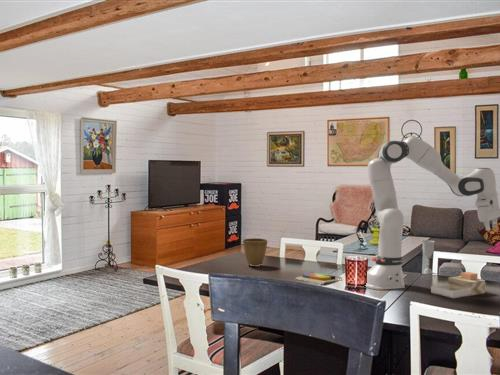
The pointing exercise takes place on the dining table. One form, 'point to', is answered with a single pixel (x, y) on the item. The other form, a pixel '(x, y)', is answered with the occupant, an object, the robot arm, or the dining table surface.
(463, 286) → the bench plate
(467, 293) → the box
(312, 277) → the wooden puzzle
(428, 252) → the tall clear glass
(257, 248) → the plant pot
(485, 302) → the dining table surface
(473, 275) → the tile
